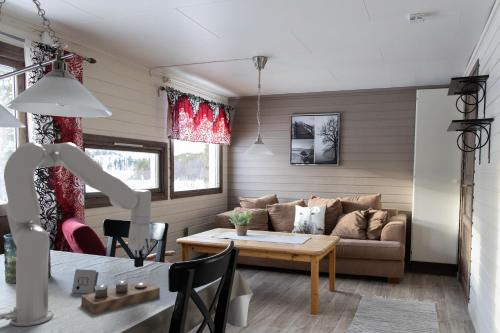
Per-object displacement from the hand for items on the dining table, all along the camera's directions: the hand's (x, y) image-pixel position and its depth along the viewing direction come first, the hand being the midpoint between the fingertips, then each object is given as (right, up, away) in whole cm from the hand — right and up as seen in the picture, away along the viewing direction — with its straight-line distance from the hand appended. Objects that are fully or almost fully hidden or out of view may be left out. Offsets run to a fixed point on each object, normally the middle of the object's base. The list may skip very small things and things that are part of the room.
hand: (138, 266), depth 154 cm
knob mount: (-5, -12, -5) cm, 14 cm away
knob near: (-11, -9, -10) cm, 18 cm away
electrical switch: (-24, -12, +6) cm, 28 cm away
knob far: (+1, -11, +1) cm, 12 cm away
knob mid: (-5, -9, -5) cm, 11 cm away
